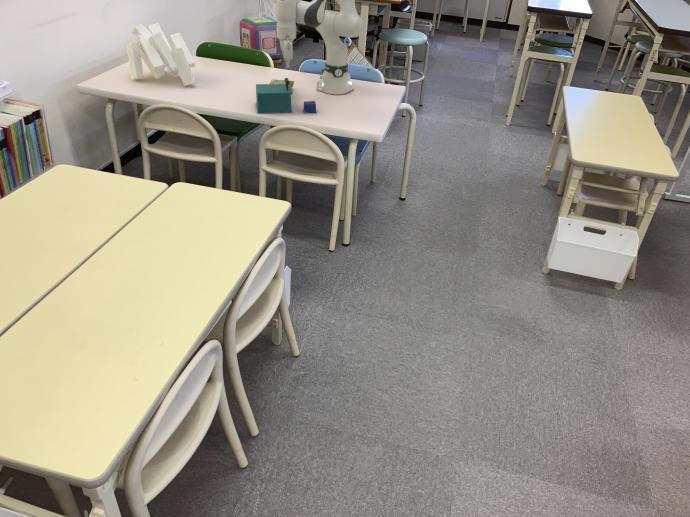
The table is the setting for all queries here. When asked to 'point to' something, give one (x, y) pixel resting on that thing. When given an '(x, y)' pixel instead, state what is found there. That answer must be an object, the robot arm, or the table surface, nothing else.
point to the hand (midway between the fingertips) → (286, 64)
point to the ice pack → (309, 107)
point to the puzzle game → (282, 82)
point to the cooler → (273, 103)
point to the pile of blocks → (159, 54)
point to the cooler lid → (274, 88)
